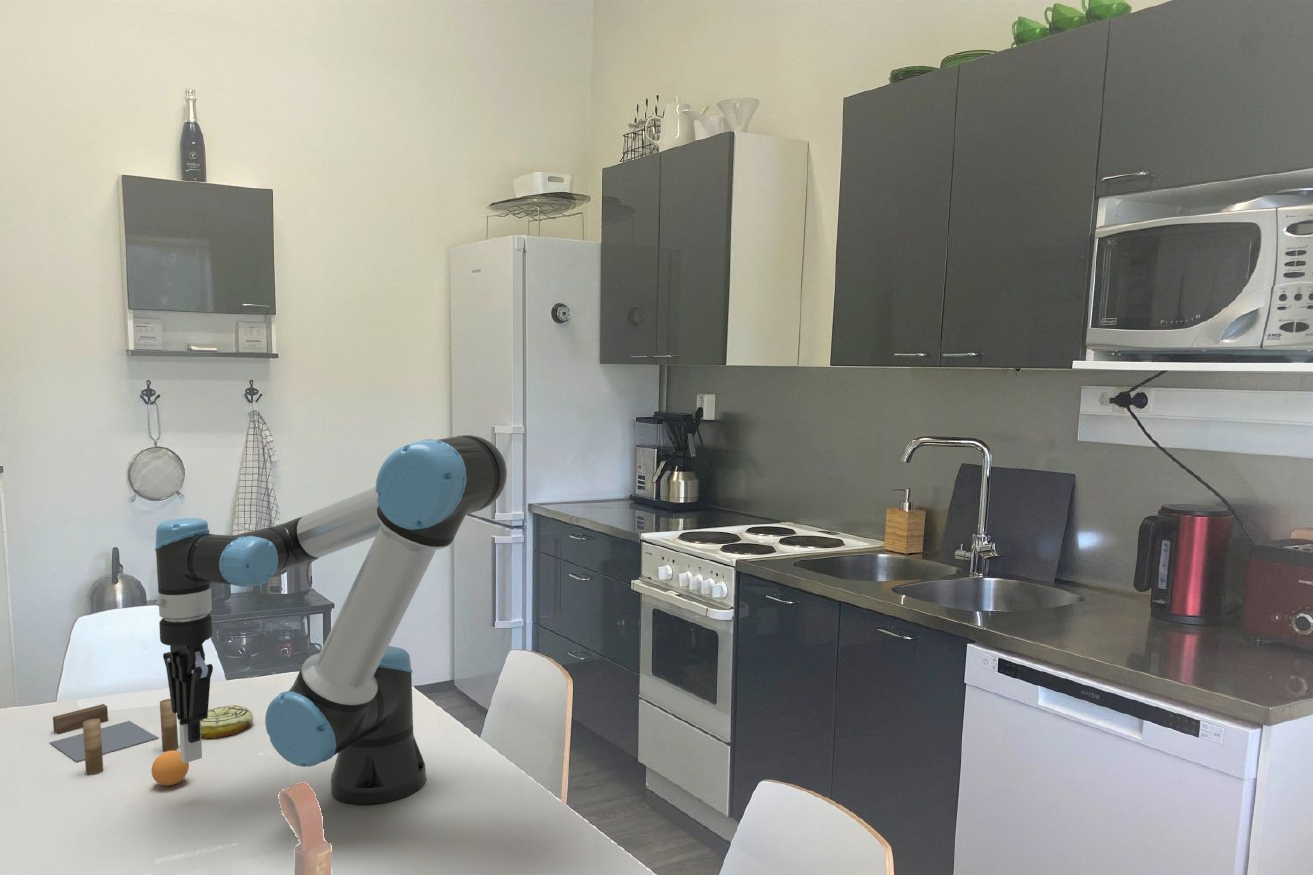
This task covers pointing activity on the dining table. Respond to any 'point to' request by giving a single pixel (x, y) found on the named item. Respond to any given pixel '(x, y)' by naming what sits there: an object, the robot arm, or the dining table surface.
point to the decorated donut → (225, 721)
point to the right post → (168, 726)
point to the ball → (169, 768)
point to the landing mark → (105, 740)
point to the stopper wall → (79, 718)
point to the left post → (93, 746)
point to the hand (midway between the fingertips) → (191, 759)
